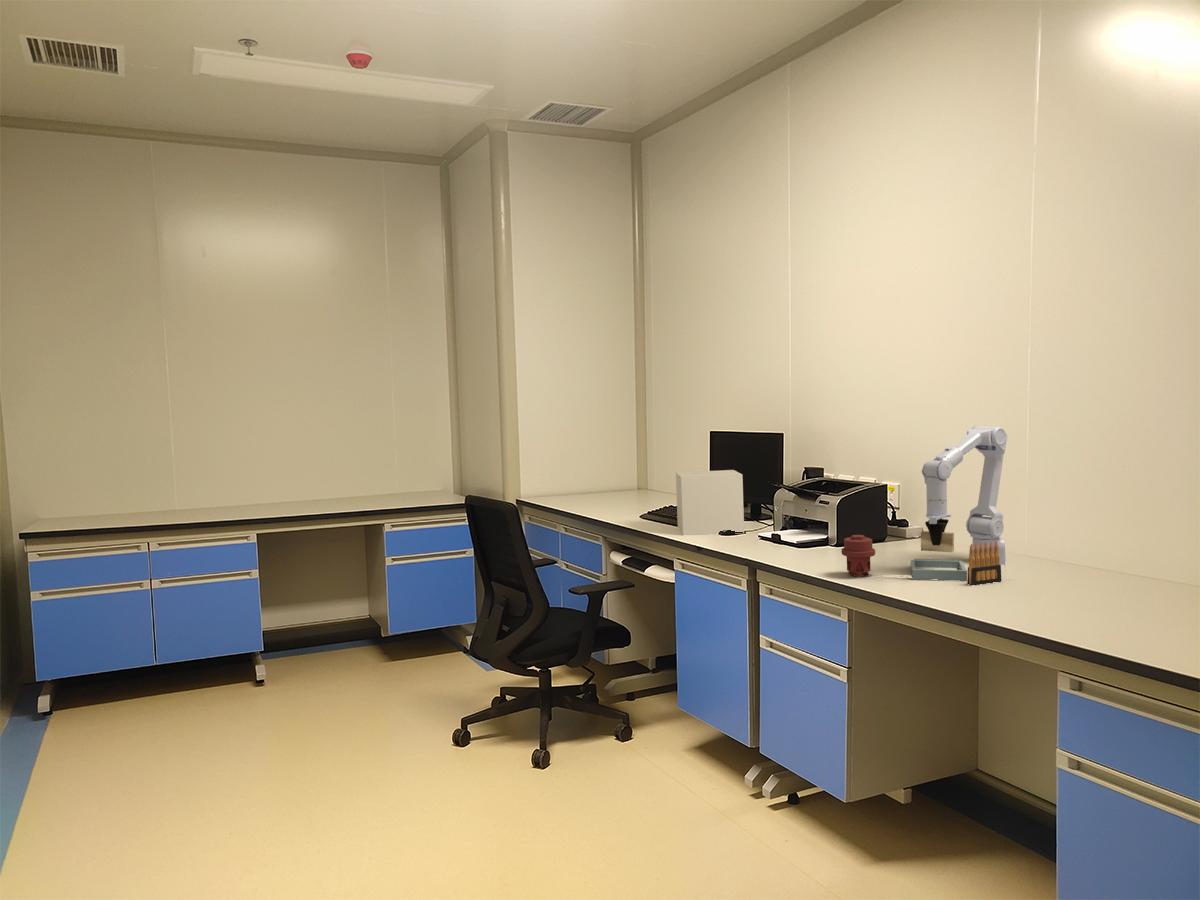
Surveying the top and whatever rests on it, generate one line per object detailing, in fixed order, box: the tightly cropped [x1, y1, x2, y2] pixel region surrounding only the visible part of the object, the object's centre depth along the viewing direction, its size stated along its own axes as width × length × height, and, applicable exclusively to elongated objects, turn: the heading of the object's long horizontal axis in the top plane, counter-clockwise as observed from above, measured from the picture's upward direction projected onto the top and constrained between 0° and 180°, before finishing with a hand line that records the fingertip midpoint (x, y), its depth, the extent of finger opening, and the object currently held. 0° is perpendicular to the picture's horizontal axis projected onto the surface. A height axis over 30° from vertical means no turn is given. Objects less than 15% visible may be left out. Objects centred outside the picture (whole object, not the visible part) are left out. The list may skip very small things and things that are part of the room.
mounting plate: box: [913, 558, 955, 561], centre depth 275 cm, size 12×10×1 cm
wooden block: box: [920, 530, 955, 553], centre depth 261 cm, size 3×9×6 cm, turn 59°
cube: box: [675, 469, 745, 537], centre depth 361 cm, size 25×21×24 cm
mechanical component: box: [840, 534, 876, 578], centre depth 265 cm, size 12×10×10 cm
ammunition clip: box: [966, 541, 1002, 586], centre depth 248 cm, size 11×2×12 cm, turn 108°
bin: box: [910, 559, 968, 582], centre depth 261 cm, size 15×15×3 cm
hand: (937, 544), depth 261 cm, fingers closed on wooden block, 3 cm apart
